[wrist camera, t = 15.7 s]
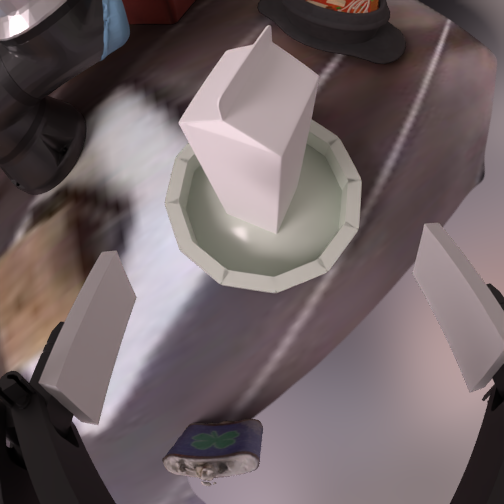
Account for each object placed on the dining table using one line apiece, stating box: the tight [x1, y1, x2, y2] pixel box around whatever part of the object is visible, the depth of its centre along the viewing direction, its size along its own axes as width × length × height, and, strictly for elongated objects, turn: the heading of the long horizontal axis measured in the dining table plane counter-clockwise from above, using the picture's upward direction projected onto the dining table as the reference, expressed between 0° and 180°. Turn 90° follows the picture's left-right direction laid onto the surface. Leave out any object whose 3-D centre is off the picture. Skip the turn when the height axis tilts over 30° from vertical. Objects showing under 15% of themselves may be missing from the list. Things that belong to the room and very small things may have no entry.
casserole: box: [257, 0, 406, 64], centre depth 35 cm, size 25×19×8 cm
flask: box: [163, 419, 263, 486], centre depth 26 cm, size 9×3×11 cm, turn 99°
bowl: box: [165, 119, 362, 293], centre depth 33 cm, size 20×20×4 cm
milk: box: [179, 25, 319, 234], centre depth 23 cm, size 6×6×22 cm
